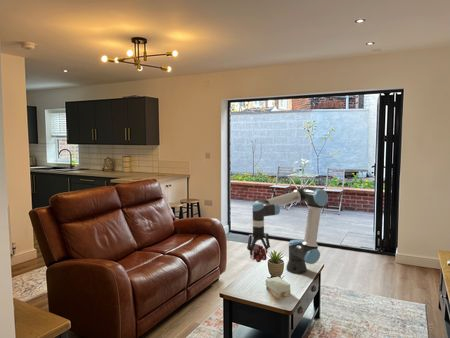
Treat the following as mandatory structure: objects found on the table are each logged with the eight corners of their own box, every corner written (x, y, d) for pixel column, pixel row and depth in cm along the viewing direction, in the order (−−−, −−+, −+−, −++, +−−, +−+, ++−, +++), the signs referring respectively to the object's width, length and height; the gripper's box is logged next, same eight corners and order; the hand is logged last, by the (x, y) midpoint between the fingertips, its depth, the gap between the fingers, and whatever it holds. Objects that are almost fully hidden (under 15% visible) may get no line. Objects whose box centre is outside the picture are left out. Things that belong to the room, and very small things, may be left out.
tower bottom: (279, 287, 238) (279, 281, 237) (290, 296, 225) (290, 290, 224) (266, 290, 234) (266, 284, 234) (276, 299, 221) (276, 293, 221)
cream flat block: (278, 282, 237) (278, 276, 237) (290, 290, 224) (290, 284, 224) (265, 284, 233) (265, 279, 233) (277, 293, 220) (277, 287, 220)
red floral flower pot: (261, 263, 228) (261, 248, 227) (248, 258, 238) (248, 244, 237) (269, 261, 233) (268, 246, 232) (255, 256, 242) (255, 241, 241)
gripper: (270, 223, 240) (270, 255, 242) (241, 226, 233) (242, 259, 236) (275, 225, 233) (275, 258, 235) (245, 229, 226) (246, 262, 228)
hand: (258, 258), depth 235 cm, fingers closed on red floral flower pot, 8 cm apart
